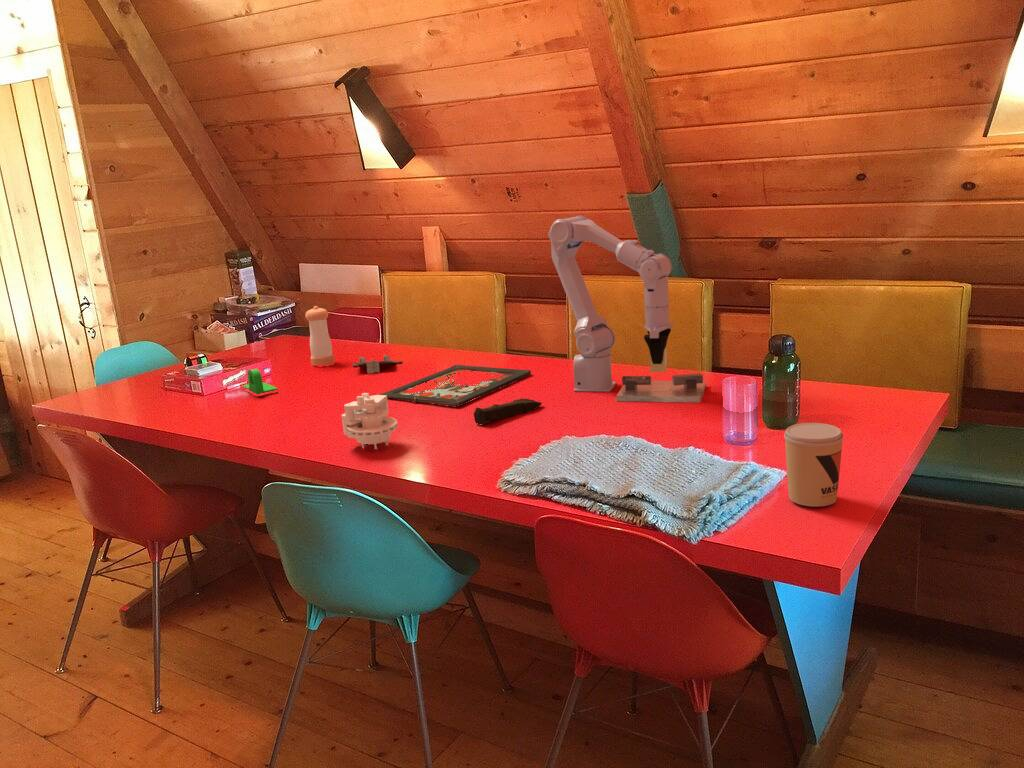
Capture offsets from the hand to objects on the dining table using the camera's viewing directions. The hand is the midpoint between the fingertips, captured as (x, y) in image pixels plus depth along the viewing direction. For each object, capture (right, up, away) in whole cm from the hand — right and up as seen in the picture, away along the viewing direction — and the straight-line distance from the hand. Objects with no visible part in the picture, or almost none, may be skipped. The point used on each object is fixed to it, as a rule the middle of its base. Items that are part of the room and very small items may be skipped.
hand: (658, 361), depth 216 cm
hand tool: (-37, -14, -13) cm, 41 cm away
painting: (-51, -7, +25) cm, 57 cm away
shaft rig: (+1, -8, +3) cm, 9 cm away
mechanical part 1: (-107, -8, +35) cm, 113 cm away
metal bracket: (-69, 0, +51) cm, 86 cm away
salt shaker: (-95, 0, +62) cm, 113 cm away
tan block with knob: (0, -2, +1) cm, 2 cm away
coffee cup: (+15, -25, -65) cm, 71 cm away
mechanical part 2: (-66, -19, -20) cm, 72 cm away
